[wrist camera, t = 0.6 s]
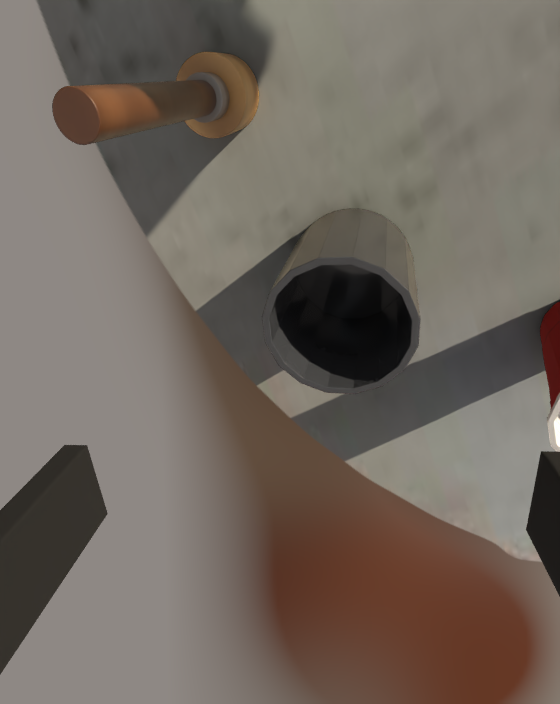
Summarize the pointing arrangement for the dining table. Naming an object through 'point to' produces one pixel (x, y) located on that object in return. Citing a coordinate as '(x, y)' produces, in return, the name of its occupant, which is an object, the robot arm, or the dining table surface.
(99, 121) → the brush
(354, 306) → the grey cylindrical container
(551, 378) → the plastic cup
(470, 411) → the dining table surface
